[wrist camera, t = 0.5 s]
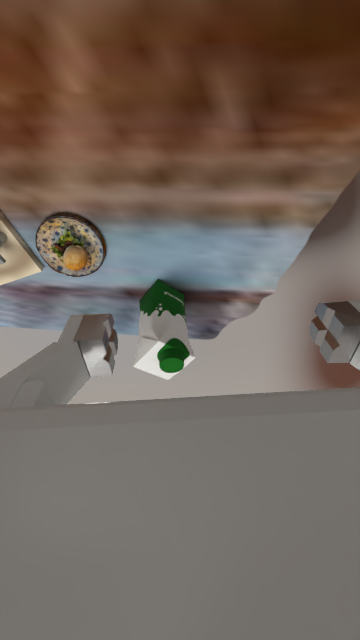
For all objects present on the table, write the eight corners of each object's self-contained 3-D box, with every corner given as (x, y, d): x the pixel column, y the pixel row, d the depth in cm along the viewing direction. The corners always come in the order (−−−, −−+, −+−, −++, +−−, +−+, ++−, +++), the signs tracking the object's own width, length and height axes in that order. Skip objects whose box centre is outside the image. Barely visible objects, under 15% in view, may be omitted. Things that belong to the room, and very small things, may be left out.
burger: (51, 197, 43) (36, 215, 37) (117, 236, 48) (112, 257, 43) (29, 253, 49) (14, 275, 44) (90, 282, 54) (83, 305, 49)
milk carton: (189, 293, 58) (202, 367, 43) (165, 318, 62) (169, 393, 48) (156, 273, 54) (157, 347, 39) (133, 302, 58) (126, 378, 44)
